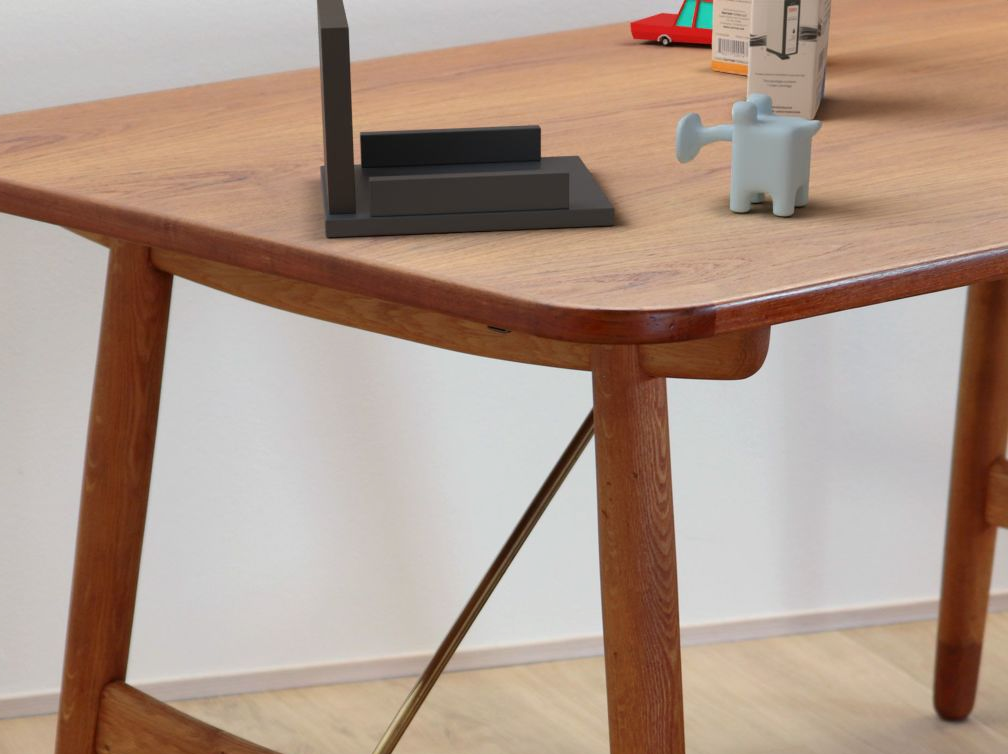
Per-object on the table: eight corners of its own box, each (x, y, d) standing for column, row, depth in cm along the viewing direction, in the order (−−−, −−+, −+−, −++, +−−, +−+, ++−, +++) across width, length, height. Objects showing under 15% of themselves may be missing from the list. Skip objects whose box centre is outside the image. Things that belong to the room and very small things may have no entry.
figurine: (693, 193, 113) (697, 87, 111) (826, 204, 110) (833, 95, 107) (668, 208, 110) (672, 99, 107) (805, 220, 106) (811, 108, 104)
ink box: (758, 96, 140) (766, -74, 135) (827, 98, 139) (838, -74, 134) (742, 119, 133) (750, -61, 128) (815, 121, 131) (826, -60, 126)
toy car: (662, 33, 168) (663, -15, 167) (792, 41, 162) (794, -9, 161) (629, 44, 163) (630, -6, 162) (761, 53, 157) (763, 1, 156)
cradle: (614, 225, 107) (618, 20, 102) (325, 237, 106) (316, 31, 101) (578, 171, 119) (580, -14, 115) (320, 181, 119) (312, -4, 114)
